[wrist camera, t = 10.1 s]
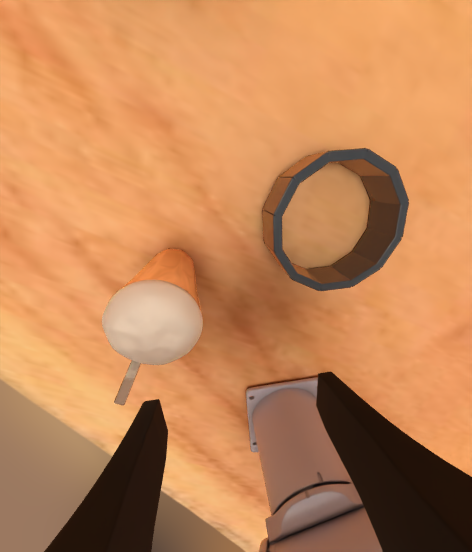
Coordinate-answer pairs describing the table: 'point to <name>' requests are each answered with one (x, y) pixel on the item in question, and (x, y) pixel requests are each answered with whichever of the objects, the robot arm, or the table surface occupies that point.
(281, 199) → the brown hollow ring
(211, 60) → the table surface
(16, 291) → the table surface
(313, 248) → the table surface
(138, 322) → the milkshake
